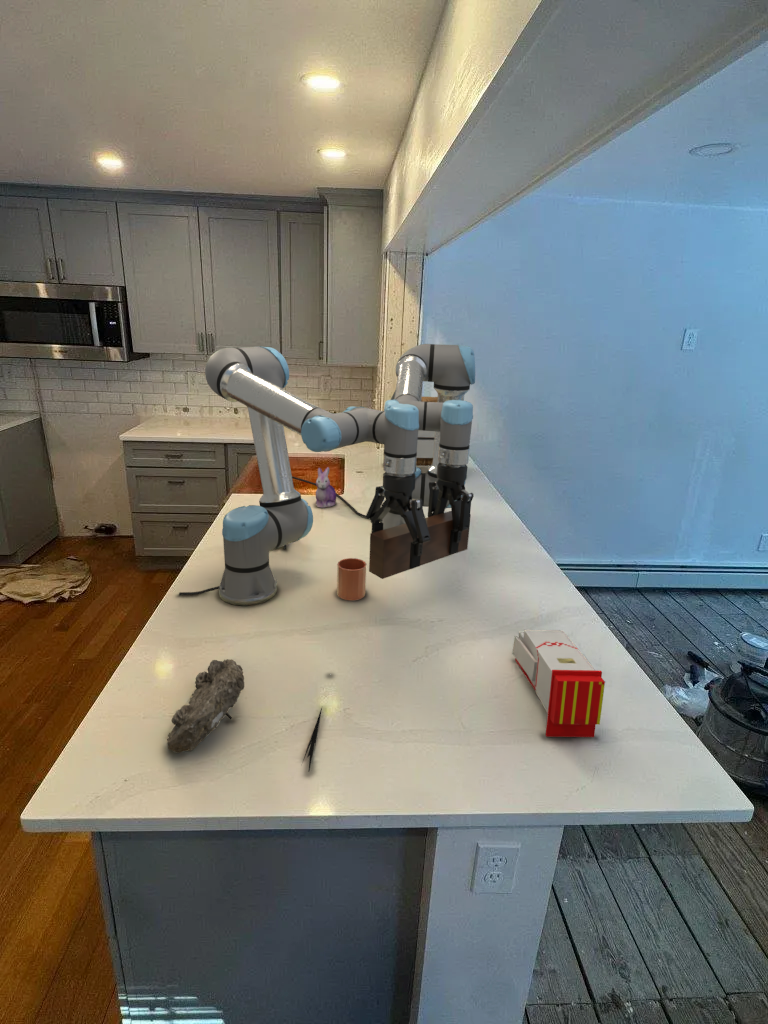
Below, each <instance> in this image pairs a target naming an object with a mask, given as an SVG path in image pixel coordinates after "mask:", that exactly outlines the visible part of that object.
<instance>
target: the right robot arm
mask: <svg viewBox="0 0 768 1024" xmlns="http://www.w3.org/2000/svg"><path fill="white" fill-rule="evenodd" d="M395 375H396V378H397V379H396V384H395V385H396V386H395V390H396V391H395V390H394V392H395V397H394V400H391V399H387V400H386V401H384V407H383V409H384V410H383V411H386V407H387V406H388V405H389V404H410V405H414V406H416V407H417V408H418V410H419V430H423V431H435V438H434V451H433V463H432V465H430V466H429V465H428V466H427V472H422V469H421V468H420V467H419V466H418V467H417V466H416V472H415V473H414V474H415V475H416V479H415V489H414V490H413V492H412V497H413V499H416V500H417V499H422V501H423V507H425V508H427V517H431V516H434V515H438V514H441V513H445V512H446V509H450V511H452V520H453V529H452V530H451V535H450V546H449V554H452V555H455V554H458V553H459V552H458V547H459V542H460V541H461V535H462V531H464V530H467V529H469V530H470V527H469V522H470V523H471V517H470V514H471V509H472V501H473V500H474V493H473V492H468V491H467V490H466V480H467V478H468V468H469V467H468V464H469V459H470V443H471V435H472V427H473V426H472V424H473V419H474V405H473V403H472V402H470V401H467V400H465V395H466V394H467V393H468V392H469V391H470V388H471V386H472V385H475V383H476V357H475V351H474V349H473V347H471V346H468V345H461V344H440V343H439V344H438V343H437V344H436V343H435V344H434V343H421V344H418V345H415V346H412V347H411V348H409V349H407V350H406V351H405V352H404V353H402V354H401V356H400V357H399V358H398V360H397V362H396V365H395ZM423 382H429V383H433V389H434V391H436V393H437V397H438V398H437V402H422V401H421V397H423ZM292 480H297V481H300V482H303V483H307V484H310V485H312V486H315V487H317V486H316V482H313V481H310V480H306V479H303V478H299V477H296V476H293V475H292ZM336 498H339V500H340V501H342V502H343V503H344V504H345V505H347V506H348V507H349V508H350V509H351V510H352V511H353V512H354V513H355V514H356V515H358V516H360V517H362V518H365V519H367V518H366V515H367V514H363V513H361V512H359V511H358V510H356V508H355V507H354V506H352V505H351V504H350V503H349V502H348V501H347V500H346V499H345V498H343V497H342V496H341V495H339V494H338V493H337V492H336ZM408 511H409V510H407V511H406V512H408ZM382 520H383V521H381V522H382V523H383V530H384V529H388V528H391V527H395V526H398V525H402V524H406V523H405V520H404V518H403V517H401V515H400V513H397V512H395V511H392V510H390V511H389V512H388V513H387V514H386V516H385V517H384V518H383V519H382ZM381 522H380V523H381ZM457 552H458V553H457ZM454 553H455V554H454Z"/></svg>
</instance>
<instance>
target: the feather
mask: <svg viewBox="0 0 768 1024" xmlns="http://www.w3.org/2000/svg"><path fill="white" fill-rule="evenodd" d="M329 675H330V676H331V675H332V674H331V673H330V674H329ZM322 710H323V707H321V708H320V710H319V713H318V716H317V719H316V723H315V725H314V728H313V731H312V733H311V737H310V739H309V742H308V745H307V748H306V751H305V754H304V757H303V760H302V763H301V767H302V765H303V763H304V761H305V758H308V759H309V760H308V762H307V763H308V764H307V766H308V771H310V770H311V766H312V765H311V764H312V760H313V757H315V756H314V755H315V751H316V749H315V746H317V739H318V733H319V729H320V722H321V717H322V712H323V711H322ZM313 754H314V755H313ZM306 755H307V757H306Z"/></svg>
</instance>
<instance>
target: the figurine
mask: <svg viewBox="0 0 768 1024" xmlns="http://www.w3.org/2000/svg"><path fill="white" fill-rule="evenodd" d="M329 474H330V467H329V466H327V467H326V468H325V469H324V471H323V470H322V468H321V467H318V468H317V477H316V481H315V483H316V486H315V487H316V488H317V489H316V490H315V499H316V501H315V506H316V507H317V508H322V509H324V508H330V507H333V506H335V505H336V502H337V496H336V493H337V492H336V489H335V488H334V486H333V485H331V481H330V479H329Z"/></svg>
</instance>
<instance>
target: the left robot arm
mask: <svg viewBox="0 0 768 1024" xmlns="http://www.w3.org/2000/svg"><path fill="white" fill-rule="evenodd" d="M204 376H205V380H206V383H207V384H208V387H209V388H210V389H211V390H212V391H213V393H214V394H216V395H217V396H219V397H221V398H222V399H224V400H225V401H228V402H229V403H230V402H231V403H236V402H238V403H241V404H242V405H244V406H246V407H247V412H248V417H249V423H250V429H251V434H252V440H253V444H254V449H255V456H256V460H257V466H258V467H257V468H258V473H259V477H260V482H261V488H262V495H261V497H260V498H259V499H258V503H259V505H256V504H250V505H243V506H238V507H236V508H233V509H231V510H229V511H228V512H227V513H226V514H225V515H224V516H223V519H222V530H221V534H222V541H223V542H222V543H223V557H224V558H223V559H224V570H223V573H222V577H221V579H220V584H219V585H217V586H214V587H209V588H206V589H203V590H199V591H188V592H187V591H183V592H181V591H180V592H178V595H179V596H197V595H201V594H202V595H203V594H206V593H209V592H213V591H217V590H218V594H219V595H218V596H219V598H220V599H221V600H222V601H223V602H225V603H227V604H230V605H234V606H255V605H259V604H263V603H265V602H268V601H270V600H271V599H273V598H274V597H275V596H276V595H277V591H278V588H277V587H278V586H277V585H278V579H276V578H275V576H274V573H273V571H272V568H271V566H270V552H272V551H275V550H277V549H279V548H282V547H284V545H287V544H288V545H289V543H290V544H292V543H296V542H298V541H300V540H301V539H304V538H305V537H307V536H308V535H309V533H310V532H311V530H312V528H313V523H314V514H313V510H312V507H311V506H310V505H308V504H309V503H308V502H307V500H305V499H304V498H302V494H301V493H300V492H299V491H298V490H296V489H295V486H294V479H293V478H292V476H293V475H292V470H291V469H292V468H291V463H290V457H289V451H288V446H287V439H286V434H285V428H287V429H288V430H289V431H291V432H294V433H296V434H297V435H299V436H301V440H302V442H303V444H305V447H306V448H307V449H308V450H309V451H311V452H314V453H322V452H325V453H327V452H331V451H334V450H337V449H340V448H345V447H348V446H353V445H357V444H361V443H365V442H368V443H373V444H378V445H379V444H380V445H383V463H384V464H383V471H384V473H383V474H382V485H380V486H376V487H375V492H374V496H373V499H372V501H371V503H370V506H369V507H368V510H367V513H366V514H365V515H366V518H365V519H367V520H370V523H371V533H373V532H377V531H380V530H383V523H382V522H381V521H383V520H382V519H383V518H384V517H385V516H386V514H387V513H388V512H389V511H390V510H392V511H395V512H397V513H400V515H401V517H403V518H404V520H405V523H406V525H407V527H408V530H409V532H410V534H411V536H412V539H413V542H411V548H410V565H409V568H411V569H410V570H412V569H416V568H418V567H421V566H420V557H421V555H422V553H423V543H425V542H428V541H430V540H431V538H430V534H429V531H428V527H427V523H426V519H425V518H426V516H425V511H424V508H423V501H422V499H417V500H416V499H413V497H412V492H413V490H414V489H415V479H416V475H415V474H414V473H415V472H416V467H417V466H416V462H417V441H418V430H419V410H418V408H417V407H416V406H414V405H410V404H389V405H388V406H387V407H386V411H384V410H380V409H373V408H369V407H365V406H353V405H351V406H348V407H347V408H346V409H345V410H343V411H341V412H336V413H334V412H330V411H328V410H326V409H323V408H321V407H320V406H318V405H316V404H314V403H312V402H310V401H308V400H306V399H304V398H302V397H300V396H299V395H296V394H294V393H292V392H290V391H288V390H286V389H285V387H286V386H287V385H288V383H289V382H288V381H289V380H290V368H289V365H288V362H287V360H286V358H285V357H284V356H283V354H282V353H281V352H279V350H278V349H276V348H273V347H270V346H262V345H258V346H243V347H242V346H241V347H223V348H221V349H218V350H216V351H215V352H214V353H212V354H211V355H210V356H209V358H208V360H207V362H206V364H205V369H204ZM284 427H285V428H284ZM407 510H409V511H408V512H406V511H407ZM417 536H418V538H417ZM288 545H287V546H288Z"/></svg>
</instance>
